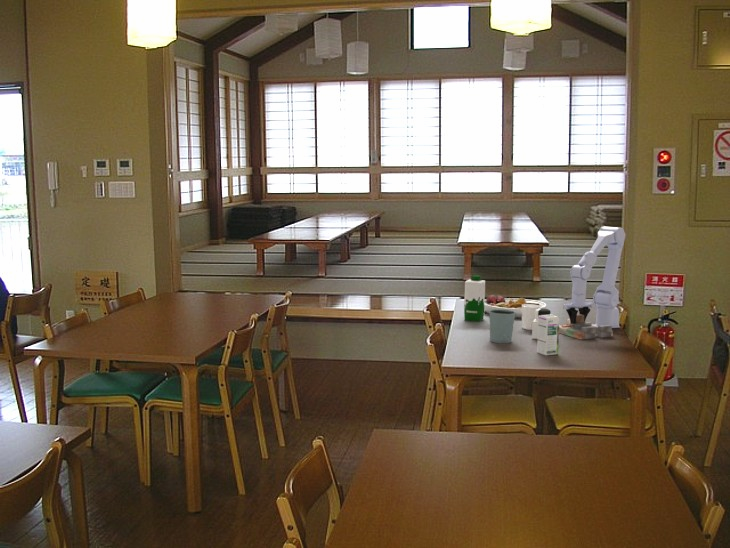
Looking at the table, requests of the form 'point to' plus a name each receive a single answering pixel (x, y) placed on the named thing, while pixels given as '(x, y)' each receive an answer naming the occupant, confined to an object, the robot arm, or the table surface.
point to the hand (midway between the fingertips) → (577, 324)
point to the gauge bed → (587, 331)
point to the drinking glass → (501, 325)
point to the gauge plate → (578, 325)
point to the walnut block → (579, 318)
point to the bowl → (509, 304)
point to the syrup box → (548, 334)
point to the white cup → (528, 315)
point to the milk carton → (474, 299)
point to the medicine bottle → (535, 323)
